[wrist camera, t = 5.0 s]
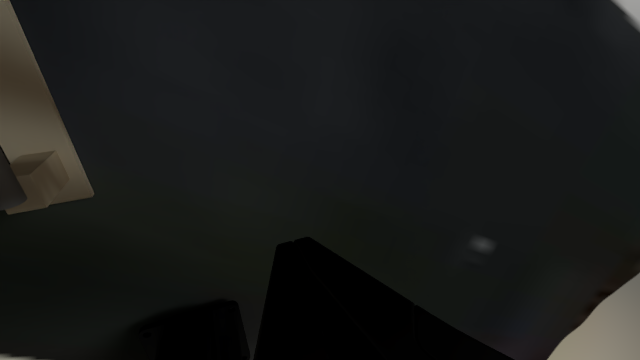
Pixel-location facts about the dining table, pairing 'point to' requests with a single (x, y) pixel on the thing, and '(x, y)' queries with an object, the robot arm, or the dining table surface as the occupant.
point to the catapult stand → (34, 126)
